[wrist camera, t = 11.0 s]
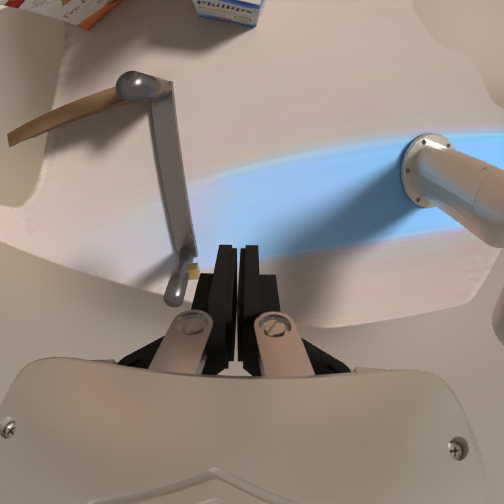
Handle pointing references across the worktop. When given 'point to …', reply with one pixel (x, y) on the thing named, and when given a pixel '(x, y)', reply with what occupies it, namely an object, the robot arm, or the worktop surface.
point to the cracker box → (67, 9)
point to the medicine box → (231, 10)
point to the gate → (66, 115)
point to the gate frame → (167, 174)
